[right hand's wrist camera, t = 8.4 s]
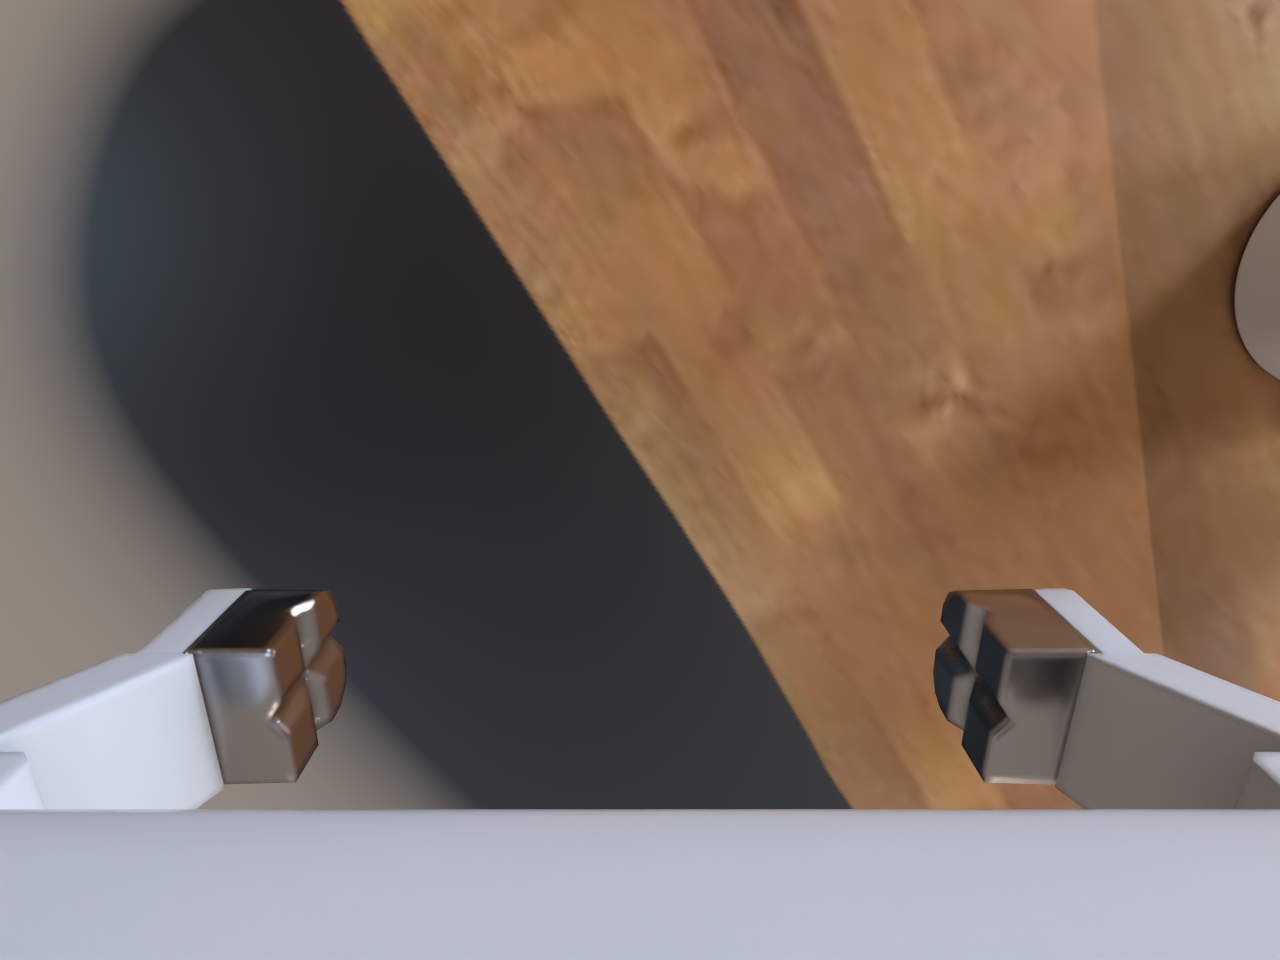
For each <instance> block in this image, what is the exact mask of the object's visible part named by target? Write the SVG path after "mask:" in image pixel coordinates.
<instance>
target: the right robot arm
mask: <svg viewBox="0 0 1280 960" xmlns="http://www.w3.org/2000/svg"><path fill="white" fill-rule="evenodd" d="M1234 304H1235V316H1236V322H1237V326H1238V330H1239V333H1240V336H1241V339H1242V341H1243V343H1244V345H1245V347H1246V349H1247V350H1248V352H1249V353H1250V355H1251V356H1252V358H1253V359H1254V360H1255V361H1256V362H1257V363H1258V364H1259V365H1260V366H1261V367H1262V368H1263V369H1264V370H1265V371H1267V372H1268V373H1269V374H1271V375H1272V376H1274V377H1275V378H1277V379H1278V380H1280V194H1279V195H1278V197H1277V198H1276V199H1275V200H1274V201H1273V203H1272V204H1271V205H1270V207H1269V208H1268V209H1267V211H1266V212H1265V213H1264V215H1263V216H1262V218H1261V219H1260V221H1259V223H1258V224H1257V226H1256V228H1255V230H1254V231H1253V233H1252V235H1251V237H1250V239H1249V242H1248V244H1247V246H1246V248H1245V251H1244V254H1243V256H1242V259H1241V263H1240V266H1239V270H1238V274H1237V279H1236V285H1235V302H1234ZM338 622H339V616H338V611H337V607H336V601H335V598H334V597H333V596H332V595H331V593H330V592H329V591H328V590H275V589H253V590H252V589H250V588H240V589H215V590H207V591H206V592H205V593H204V594H203V595H201V596H200V597H199V598H198V599H197V600H196V601H195V602H194V603H192V604H191V605H190V606H189V607H188V608H187V609H186V610H184V611H183V612H182V613H181V614H180V615H179V616H178V617H177V618H175V619H174V620H173V621H172V622H171V623H170V624H169V625H168V626H166V627H165V628H164V629H163V630H162V631H161V632H160V633H158V634H157V635H156V636H155V637H154V638H153V639H152V640H151V641H150V642H148V643H147V644H146V645H145V646H144V647H143V648H142V649H140V650H139V651H138V652H137V653H136V654H121V655H118V656H116V657H113V658H111V659H108V660H106V661H103V662H101V663H98V664H96V665H93V666H91V667H88V668H86V669H83V670H80V671H78V672H75V673H73V674H70V675H68V676H65V677H63V678H60V679H58V680H55V681H53V682H50V683H48V684H45V685H43V686H40V687H38V688H35V689H32V690H30V691H27V692H25V693H22V694H20V695H17V696H15V697H12V698H10V699H7V700H5V701H2V702H0V960H1280V702H1278V701H1275V700H1273V699H1270V698H1268V697H1265V696H1263V695H1260V694H1258V693H1255V692H1252V691H1250V690H1247V689H1245V688H1242V687H1240V686H1237V685H1235V684H1232V683H1230V682H1227V681H1225V680H1222V679H1220V678H1217V677H1215V676H1212V675H1210V674H1207V673H1205V672H1202V671H1199V670H1197V669H1194V668H1192V667H1189V666H1187V665H1184V664H1182V663H1179V662H1177V661H1174V660H1172V659H1169V658H1167V657H1164V656H1162V655H1159V654H1144V653H1143V652H1142V651H1141V650H1140V649H1138V648H1137V647H1136V646H1135V645H1134V644H1133V643H1132V642H1131V641H1129V640H1128V639H1127V638H1126V637H1125V636H1124V635H1123V634H1122V633H1120V632H1119V631H1118V630H1117V629H1116V628H1115V627H1114V626H1113V625H1111V624H1110V623H1109V622H1108V621H1107V620H1106V619H1105V618H1104V617H1102V616H1101V615H1100V614H1099V613H1098V612H1097V611H1096V610H1095V609H1093V608H1092V607H1091V606H1090V605H1089V604H1088V603H1087V602H1086V601H1084V600H1083V599H1082V598H1081V597H1080V596H1079V595H1078V594H1077V593H1075V592H1074V591H1072V590H1068V589H1065V588H1054V589H1004V590H962V591H953V592H949V593H948V595H947V597H946V600H945V602H944V604H943V610H942V616H941V622H942V624H943V625H944V627H945V628H946V630H947V631H948V633H949V635H950V636H949V637H948V638H947V639H946V640H945V641H944V642H943V643H942V644H941V645H940V646H939V647H938V648H937V649H936V654H935V662H934V670H933V675H934V685H935V694H936V697H937V700H938V703H939V706H940V708H941V710H942V712H943V714H944V715H945V717H946V719H947V721H949V722H950V723H952V724H953V725H955V726H957V727H958V728H960V729H962V730H963V731H964V733H963V739H962V746H963V748H964V749H965V751H966V753H967V754H968V756H969V758H970V759H971V761H972V763H973V764H974V766H975V768H976V769H977V771H978V773H979V774H980V776H981V778H982V779H983V781H984V782H989V783H1026V784H1056V786H1055V788H1057V789H1058V790H1060V791H1061V792H1062V793H1064V794H1065V795H1066V796H1068V797H1069V798H1070V799H1072V800H1073V801H1074V802H1076V803H1077V804H1078V805H1080V806H1081V807H1083V808H1084V809H196V808H198V807H199V806H200V805H202V804H203V803H204V802H206V801H207V800H209V799H210V798H211V797H213V796H214V795H215V794H217V793H218V792H219V791H221V790H222V789H223V788H224V784H253V783H288V782H296V781H297V779H298V778H299V776H300V774H301V773H302V771H303V769H304V768H305V766H306V764H307V763H308V761H309V759H310V758H311V756H312V754H313V753H314V751H315V749H316V748H317V746H318V739H317V733H316V731H317V730H318V729H320V728H322V727H323V726H325V725H326V724H328V723H330V722H331V721H333V719H334V717H335V715H336V714H337V712H338V710H339V708H340V706H341V703H342V699H343V695H344V691H345V687H346V660H345V653H344V649H343V648H342V647H341V646H340V645H339V644H338V643H337V642H336V641H335V640H334V639H333V638H332V637H331V636H330V635H331V633H332V631H333V630H334V628H335V627H336V625H337V624H338Z"/></svg>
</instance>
